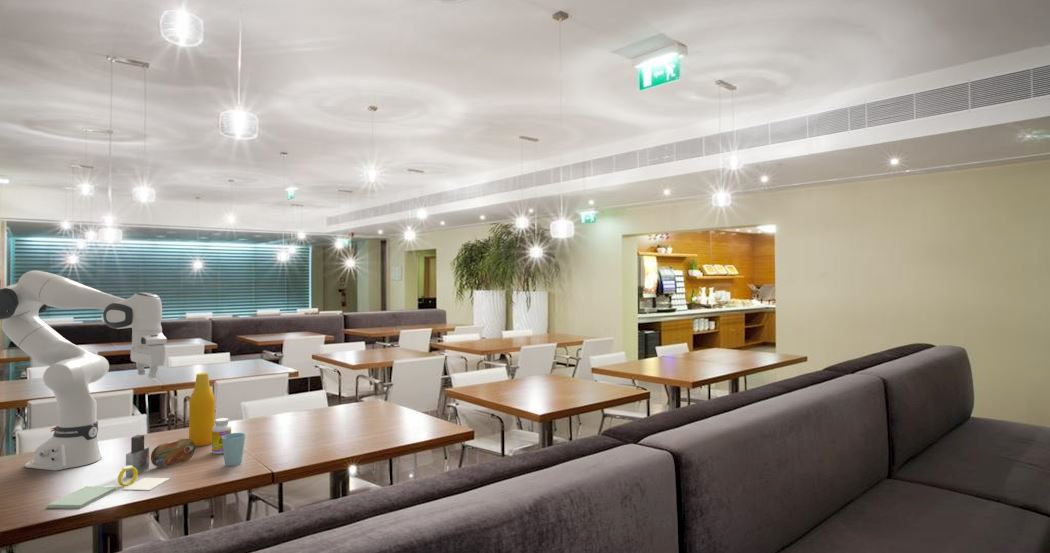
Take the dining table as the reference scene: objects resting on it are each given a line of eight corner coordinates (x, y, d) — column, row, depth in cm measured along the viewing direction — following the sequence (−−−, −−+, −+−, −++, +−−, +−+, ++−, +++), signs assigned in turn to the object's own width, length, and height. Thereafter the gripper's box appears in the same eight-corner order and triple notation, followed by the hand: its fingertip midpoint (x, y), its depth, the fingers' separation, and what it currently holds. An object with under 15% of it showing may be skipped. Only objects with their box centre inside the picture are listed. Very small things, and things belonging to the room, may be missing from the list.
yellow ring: (122, 488, 179) (121, 471, 179) (116, 487, 180) (115, 470, 179) (139, 480, 185) (138, 463, 185) (133, 480, 186) (132, 463, 185)
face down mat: (122, 490, 177) (122, 489, 177) (144, 478, 187) (144, 477, 187) (149, 490, 177) (149, 489, 177) (170, 479, 187) (170, 478, 187)
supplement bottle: (217, 455, 212) (217, 422, 211) (208, 452, 215) (208, 419, 215) (234, 451, 217) (234, 418, 217) (225, 448, 221) (225, 416, 221)
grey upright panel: (125, 477, 188) (126, 439, 188) (142, 469, 196) (142, 433, 196) (132, 477, 188) (132, 439, 188) (148, 469, 196) (149, 433, 196)
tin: (154, 470, 195) (154, 447, 195) (149, 469, 196) (149, 446, 196) (195, 458, 208) (196, 436, 208) (190, 457, 210) (190, 435, 210)
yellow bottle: (208, 438, 233) (208, 370, 233) (218, 442, 227) (219, 373, 227) (184, 443, 225) (185, 373, 225) (194, 448, 220) (195, 376, 220)
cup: (216, 466, 200) (217, 438, 200) (230, 459, 207) (231, 432, 207) (235, 467, 199) (236, 439, 199) (249, 460, 206) (249, 433, 206)
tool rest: (47, 507, 163) (47, 504, 163) (85, 489, 177) (85, 486, 177) (80, 508, 163) (80, 505, 163) (116, 490, 177) (116, 486, 177)
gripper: (125, 336, 199) (125, 374, 199) (148, 340, 188) (148, 380, 188) (145, 335, 205) (144, 371, 205) (169, 339, 193) (168, 378, 193)
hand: (146, 376), depth 196 cm, fingers open, 8 cm apart
